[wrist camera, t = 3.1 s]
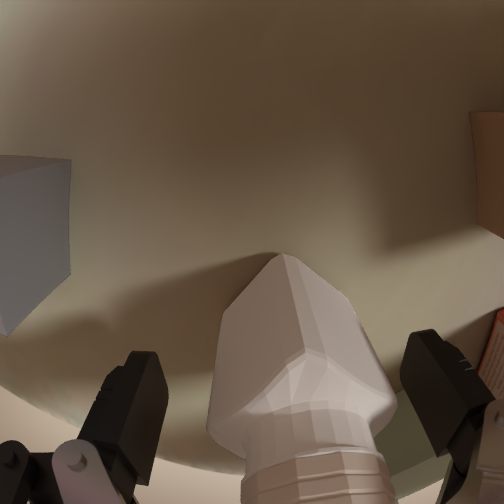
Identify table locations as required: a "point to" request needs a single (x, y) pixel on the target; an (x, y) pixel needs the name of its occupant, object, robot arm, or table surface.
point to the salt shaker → (300, 393)
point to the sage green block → (409, 451)
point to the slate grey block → (32, 233)
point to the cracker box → (494, 359)
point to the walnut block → (489, 168)
